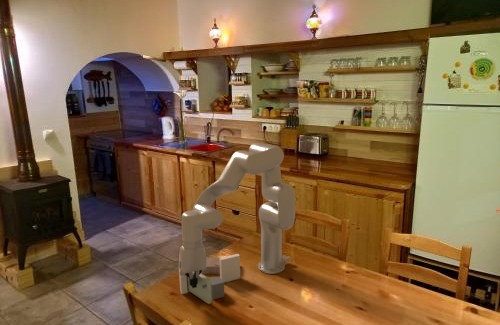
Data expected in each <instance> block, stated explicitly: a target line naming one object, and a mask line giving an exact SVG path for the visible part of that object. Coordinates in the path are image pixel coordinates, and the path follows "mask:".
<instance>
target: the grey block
mask: <svg viewBox="0 0 500 325" xmlns="http://www.w3.org/2000/svg"><path fill="white" fill-rule="evenodd" d="M209 279H210V280H211V297H212V300H214V301H215V300H216V299H220V298H223V297H225V282H223V280H222V279H221V278H220V275H219V276H215V277H212V278H209Z"/></svg>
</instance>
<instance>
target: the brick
mask: <svg viewBox="0 0 500 325" xmlns="http://www.w3.org/2000/svg"><path fill="white" fill-rule="evenodd" d="M219 258H220V257H213V256H211V257H206V262H207V266H206V268H207V270H205V271H203V272H201V274H202V275H210V274H213V275H214V274H215V275H216V274H219V275H220V259H219Z"/></svg>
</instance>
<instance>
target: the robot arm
mask: <svg viewBox="0 0 500 325" xmlns="http://www.w3.org/2000/svg"><path fill="white" fill-rule="evenodd" d="M284 157H285V153H284V150H283V149H282V148H281V147H280V146H277V145H273V144H267V143H265V142H264V143H263V142H254V143H251V144H250V145H249V147H248V151H246V150H237V151H235V152H233V154H232V155H231V157H230V159H229V160H228V162H227V163H226V165H225V167H224V169H223V170H222V172H221V174H220V176H219V177H218V179H216V181H215V182H213V183H211V184H210V185H208V187H207V188H205V189H204V190H203V191H202V192H201V193H200V194H199V196H198V198H197V200H196V201H195V203H194V205H193V206H192V210H186V211H184V212H183V213H182V214H181V218H180V219H181V220H180V221H181V237H182V238H181V241H182V242H181V244H182V245H181V246H180V247H179V254H178V255H179V256H178V269H179V268H180V273H179V272H178V275H179V274H180V275H181V276H187V277H189V284H190V286H192V288H196V287H197V284H198V277H199V275H200V274H202V273H201V272H203V271H205V270H207V268H206V266H207V262H206V258H207V255H206V248H205V245H204V243H205V242H206V241H207V240H206V237H203V230H211V229H212V230H213V229H216V228H218V227H220V226H221V225H222V223H223V220H224V219H223V218H224V217H223V214H222V213H221V212H220V211H219V210H217V209H216V208H214V207H212V205H213V203H214V202H215V201H216V200H217V199H218V198H220V197H222V196H224V195H228V194H232V193H234V192H236V191H237V189H238V188H239V186H240V184H241V182H242V181H243V179H244V177H245V176H246V174H249V175H253V176H255V175H258V174H261V195H262V197H263V199H264V200H267V202H264V203H262V204H261V205H260V207H259V208H258V219H259V223H260V248H261V249H260V251H261V252H260V254H261V257H260V258H261V259H260V261H259V262H258V264H257V268H258V270H259V271H260V272H262V273H264V274H269V275H270V274H271V275H273V274H274V275H276V274H280V273H281V272H283V271H284V270H285V268H286V262H289V261H292V258H291V256H286V255H285V254H284V255H283V254H282V253H283V251H282V249H283V248H282V247H283V246H282V245H283V243H282V242H283V241H282V240H283V239H282V237H283V231H282V230H285V231H286V230H289V229H291V228H292V227H293V226H294V223H295V220H296V192H295V189H294V187H293V186H292V185H291V184H288V183H286V182H282V176H281V175H282V174H281V172H282V170H281V166H280V165H281V164H282V162H283V161H284ZM192 272H194V275H192Z"/></svg>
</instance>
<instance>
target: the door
mask: <svg viewBox="0 0 500 325" xmlns="http://www.w3.org/2000/svg"><path fill="white" fill-rule="evenodd" d="M192 275H194V272H192ZM186 277H187V276H186ZM210 279H211V278H209V277H207V276H205V274H202V273H201V274H200V275H199V277H198V284H197V287H196V288H192V286H190V284H189V277H187V290H188V291H190V292H189V293H192V294H193V295H195V296H196V297H198V298H199V299H200V300H202V301H203V302H205V303H206V304H208V305H211V303H212V302H213V301H212V300H213V299H212V297H211V280H210Z"/></svg>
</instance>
